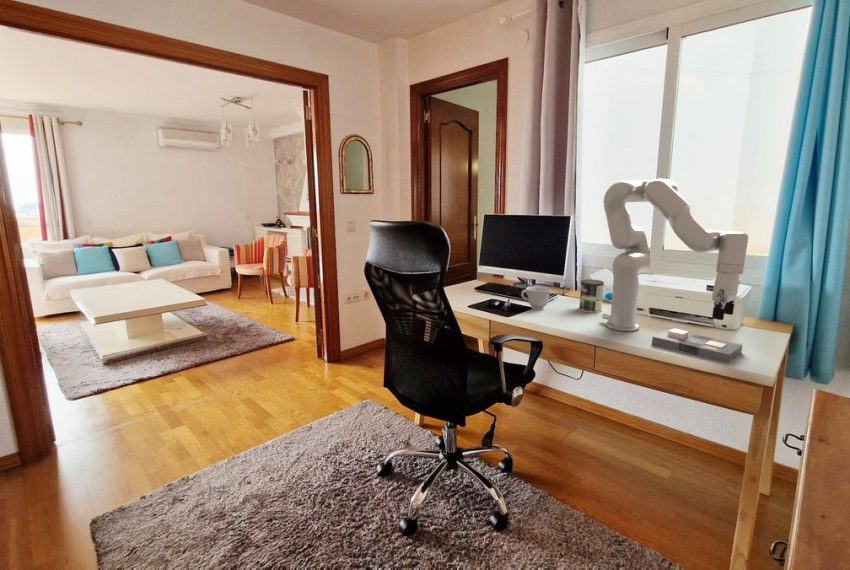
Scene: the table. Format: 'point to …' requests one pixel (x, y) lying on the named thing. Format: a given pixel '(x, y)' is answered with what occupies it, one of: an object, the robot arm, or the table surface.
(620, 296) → the robot arm
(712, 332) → the table surface
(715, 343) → the switch right
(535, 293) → the teacup
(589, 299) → the coffee can
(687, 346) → the switch panel
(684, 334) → the switch left
